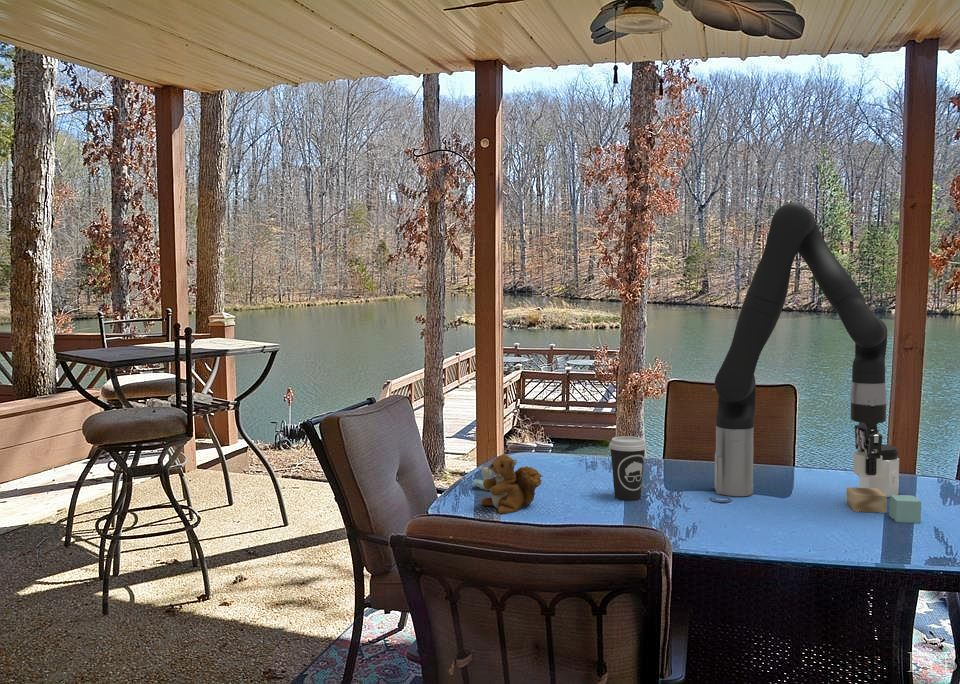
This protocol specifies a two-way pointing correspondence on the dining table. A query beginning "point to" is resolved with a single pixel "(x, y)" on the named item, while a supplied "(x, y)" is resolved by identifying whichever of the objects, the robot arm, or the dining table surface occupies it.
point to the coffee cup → (627, 466)
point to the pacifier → (485, 476)
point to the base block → (866, 500)
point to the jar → (885, 473)
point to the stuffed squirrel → (510, 485)
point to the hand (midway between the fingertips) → (867, 471)
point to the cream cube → (860, 465)
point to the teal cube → (905, 508)
